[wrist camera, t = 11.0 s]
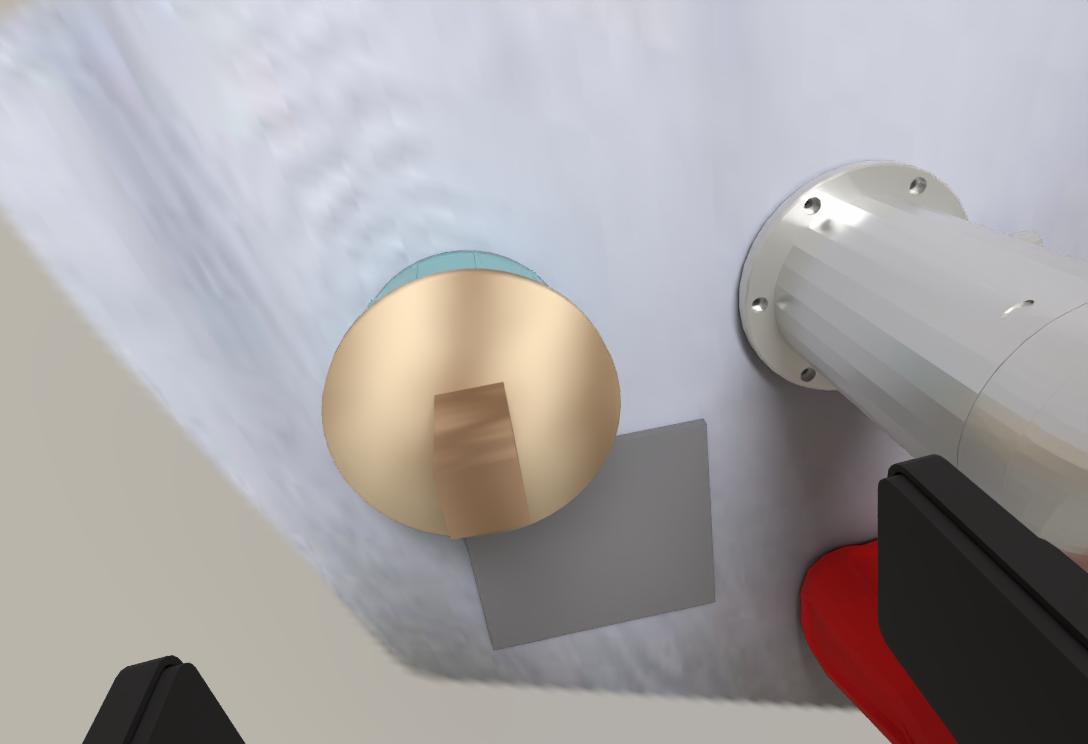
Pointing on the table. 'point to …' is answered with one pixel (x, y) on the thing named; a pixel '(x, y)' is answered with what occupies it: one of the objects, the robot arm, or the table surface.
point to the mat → (607, 545)
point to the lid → (470, 403)
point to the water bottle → (863, 646)
